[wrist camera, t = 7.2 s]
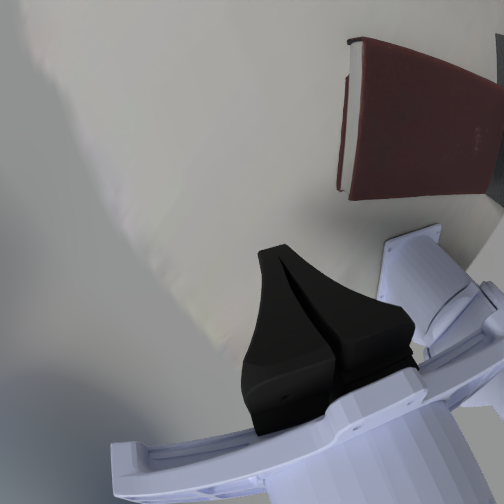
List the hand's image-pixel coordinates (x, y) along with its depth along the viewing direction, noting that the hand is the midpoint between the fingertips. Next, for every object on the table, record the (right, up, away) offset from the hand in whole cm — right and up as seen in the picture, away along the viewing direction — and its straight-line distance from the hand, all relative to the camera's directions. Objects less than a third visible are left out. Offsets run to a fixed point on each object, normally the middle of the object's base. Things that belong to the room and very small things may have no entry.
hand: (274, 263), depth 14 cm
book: (+15, +12, +8) cm, 21 cm away
